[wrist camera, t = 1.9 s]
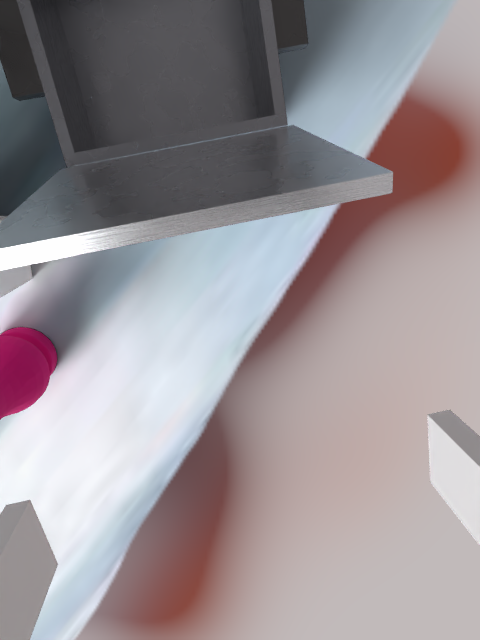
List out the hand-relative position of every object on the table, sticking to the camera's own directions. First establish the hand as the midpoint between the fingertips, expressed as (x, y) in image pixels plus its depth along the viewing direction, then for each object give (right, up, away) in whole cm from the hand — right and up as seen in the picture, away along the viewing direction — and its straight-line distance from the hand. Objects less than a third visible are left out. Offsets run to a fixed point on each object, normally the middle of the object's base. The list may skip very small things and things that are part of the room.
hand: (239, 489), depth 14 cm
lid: (-3, +14, +9) cm, 16 cm away
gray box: (-7, +28, +22) cm, 36 cm away
